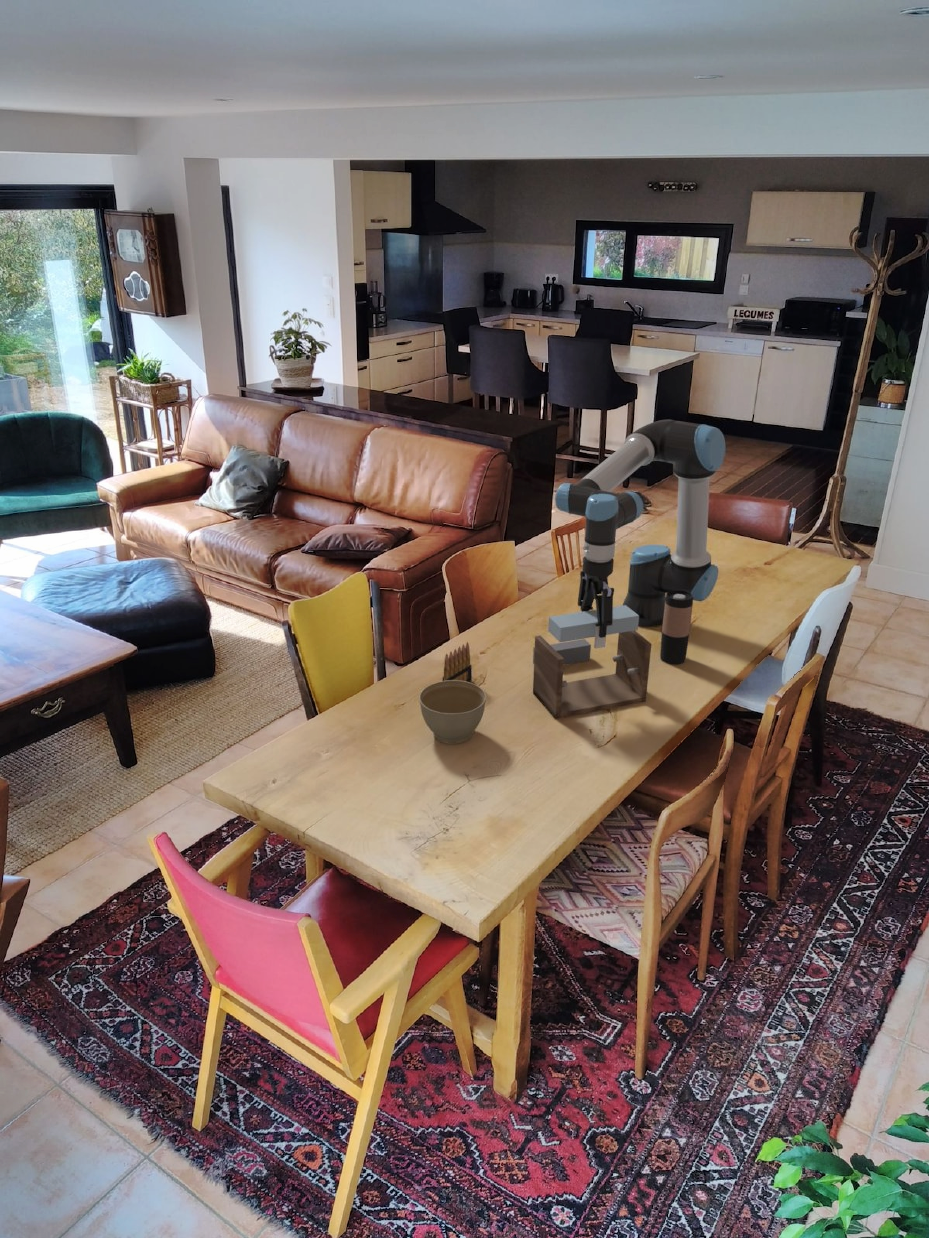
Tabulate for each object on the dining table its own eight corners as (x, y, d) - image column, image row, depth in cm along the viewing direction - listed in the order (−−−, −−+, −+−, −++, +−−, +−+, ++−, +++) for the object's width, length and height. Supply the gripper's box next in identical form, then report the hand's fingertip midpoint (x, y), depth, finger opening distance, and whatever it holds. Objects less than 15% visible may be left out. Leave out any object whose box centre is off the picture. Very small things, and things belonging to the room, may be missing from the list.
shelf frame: (619, 677, 252) (624, 621, 245) (645, 701, 240) (651, 643, 233) (532, 693, 244) (535, 636, 236) (555, 719, 232) (558, 659, 224)
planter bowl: (410, 725, 229) (409, 687, 224) (469, 712, 235) (469, 675, 230) (434, 758, 215) (433, 718, 211) (496, 743, 221) (496, 704, 217)
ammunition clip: (466, 679, 251) (466, 639, 246) (472, 681, 250) (472, 641, 245) (442, 694, 243) (441, 654, 238) (447, 696, 242) (447, 656, 237)
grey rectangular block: (583, 654, 264) (584, 639, 262) (589, 660, 261) (590, 644, 259) (532, 663, 259) (533, 647, 257) (538, 669, 256) (539, 653, 254)
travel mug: (654, 659, 262) (660, 595, 254) (668, 650, 267) (675, 587, 259) (677, 667, 257) (684, 602, 249) (691, 658, 262) (699, 594, 254)
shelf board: (624, 619, 240) (625, 605, 238) (637, 629, 234) (639, 615, 232) (548, 631, 233) (548, 616, 231) (559, 642, 227) (560, 627, 225)
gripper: (567, 545, 232) (562, 627, 242) (604, 573, 215) (597, 659, 225) (593, 542, 235) (587, 623, 244) (632, 569, 218) (624, 655, 227)
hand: (592, 640), depth 235 cm, fingers closed on shelf board, 7 cm apart
